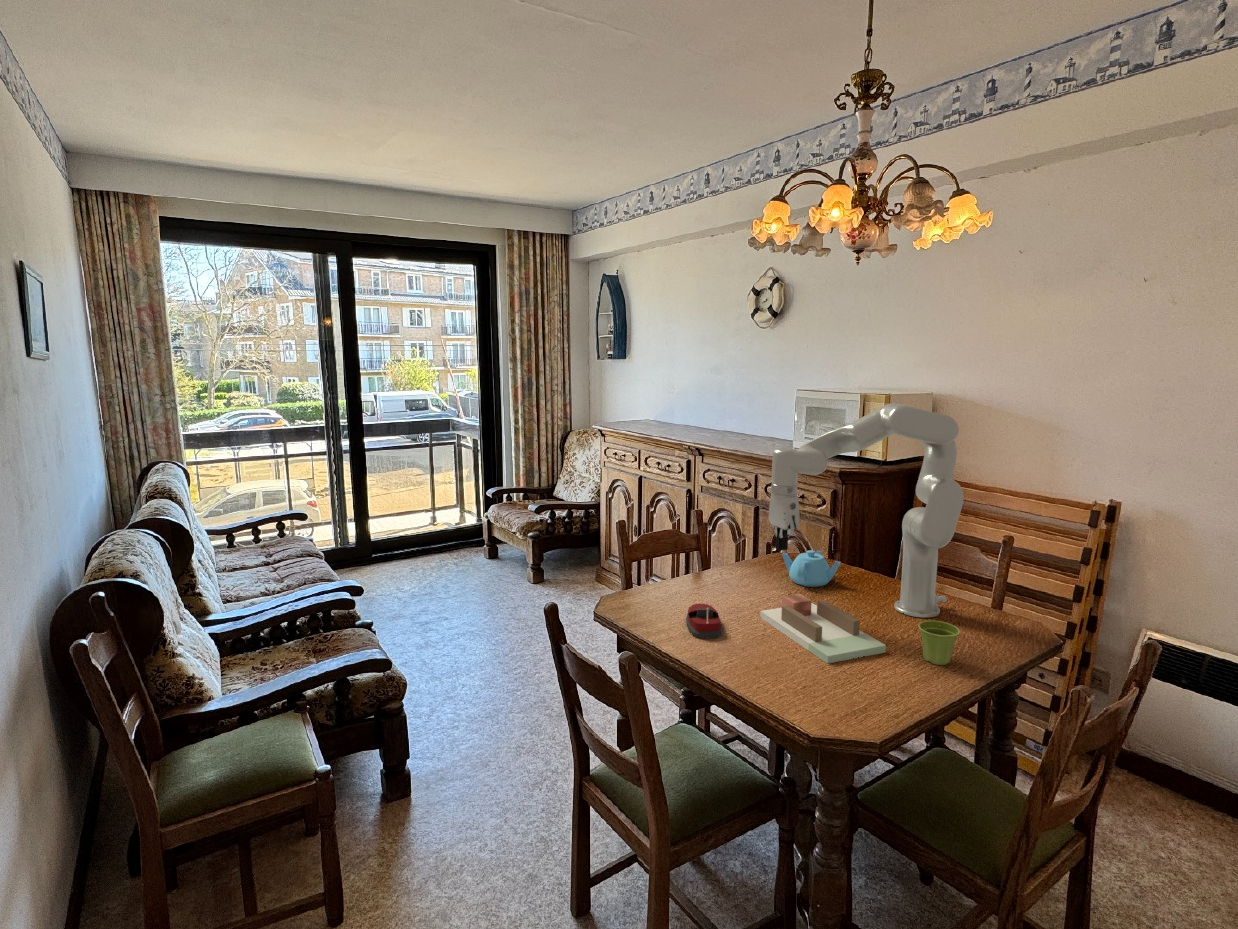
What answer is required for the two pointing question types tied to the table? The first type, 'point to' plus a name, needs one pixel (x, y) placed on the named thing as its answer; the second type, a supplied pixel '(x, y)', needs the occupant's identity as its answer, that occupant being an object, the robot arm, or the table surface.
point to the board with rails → (824, 632)
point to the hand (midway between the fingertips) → (781, 549)
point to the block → (798, 603)
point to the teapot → (810, 569)
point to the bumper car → (703, 621)
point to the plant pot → (938, 641)
